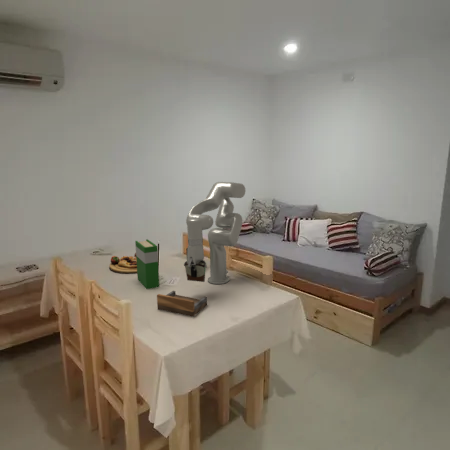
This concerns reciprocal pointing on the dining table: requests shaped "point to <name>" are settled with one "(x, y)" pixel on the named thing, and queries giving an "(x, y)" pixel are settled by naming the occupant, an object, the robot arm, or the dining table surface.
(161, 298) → the tray
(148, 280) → the hardback book
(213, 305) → the dining table surface
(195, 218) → the robot arm
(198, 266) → the food container
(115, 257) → the wooden plate with food
